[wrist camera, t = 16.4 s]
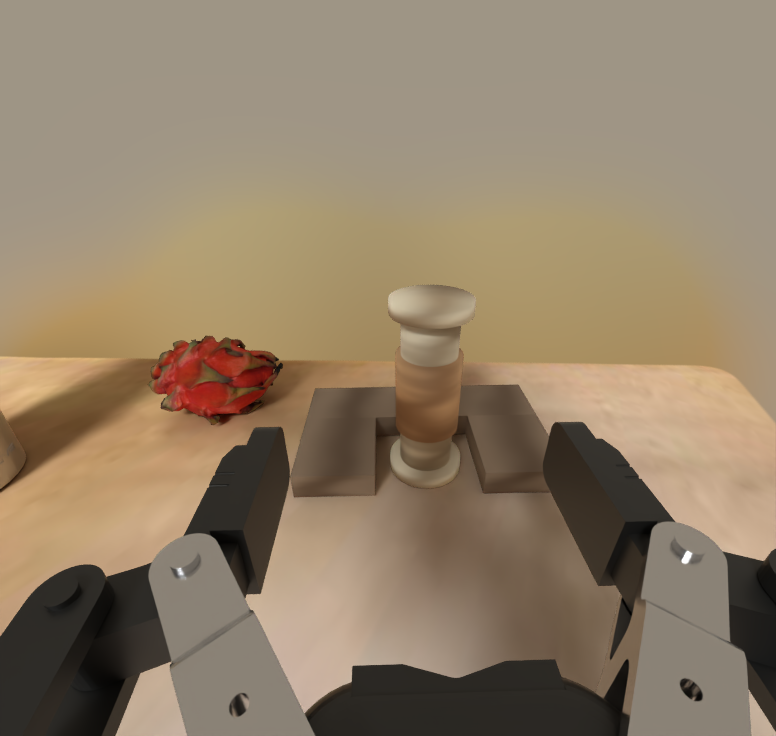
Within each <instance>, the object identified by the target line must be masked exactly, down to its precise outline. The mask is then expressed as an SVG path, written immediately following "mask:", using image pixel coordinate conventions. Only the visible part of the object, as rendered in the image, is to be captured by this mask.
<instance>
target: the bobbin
mask: <svg viewBox="0 0 776 736" xmlns="http://www.w3.org/2000/svg"><path fill="white" fill-rule="evenodd" d="M475 305H476V298H475V297H474V295H473V294H471V293H470V292H468V291H465V290H463V289H459V288H455V287H450V286H443V285H417V286H410V287H405V288H401V289H398V290H396V291H394V292H392V293H391V294H390V295H389V297H388V313H389V316H390V317H391V318H392V319H393V320H394V321H396V322H398V323H400V324H401V346H399V347H398V348H397V350H396V353H395V361H396V427H397V429H398V431H399V432H400V438H399V439H398V440H397V441H396V442H395V443H394V444H393V446H392V448H391V451H390V464H391V469H392V471H393V473H394V474H395V476H396V477H397V478H398V479H399V480H401V481H402V482H404V483H406V484H408V485H410V486H413V487H417V488H425V489H430V488H437V487H441V486H444V485H446V484H448V483H450V482H451V481H452V480H453V479H454V478H455V477H456V476H457V474H458V472H459V467H460V452H459V449H458V447H457V446H456V445H455V444H454V443H453V442H452V441H451V440H452V435H454V433H455V432H456V430H457V425H458V414H459V403H460V391H461V380H462V369H463V358H464V357H463V356H464V354H463V351H462V350H461V349H460V348H459V343H460V342H459V341H460V331H461V325H464V324H466V323H468V322H470V321H471V320H472V319H473V318H474V315H475Z"/></svg>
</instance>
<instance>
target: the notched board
mask: <svg viewBox="0 0 776 736" xmlns="http://www.w3.org/2000/svg"><path fill="white" fill-rule="evenodd" d="M454 434H466V437H467V441H468V444H469V447H470V451H471V454H472V457H473V461H474V464H475V467H476V471H477V474H478V477H479V481H480V484H481V488H482V491H483V493H513V492H550V490H549V488H548V486H547V484H546V482H545V479H544V474H543V460H544V456H545V452H546V448H547V444H548V440H549V436H548V434H547V432H546V431H545V429H544V427H543V425H542V424H541V422H540V420H539V419H538V417H537V415H536V414H535V412H534V410H533V409H532V407H531V405H530V403H529V402H528V400H527V398H526V397H525V395H524V393H523V392H522V390H521V388H520V387H519V385H478V386H461V391H460V403H459V414H458V425H457V430H456V432H455V433H454ZM384 435H400V432H399V431H398V429H397V427H396V387H371V388H317V389H315V391H314V395H313V398H312V402H311V405H310V409H309V412H308V416H307V420H306V423H305V427H304V430H303V434H302V437H301V441H300V444H299V448H298V452H297V455H296V459H295V462H294V466H293V469H292V473H291V476H290V477H291V483H292V489H293V494H294V497H318V496H367V495H375V479H376V436H384Z"/></svg>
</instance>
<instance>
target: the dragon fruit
mask: <svg viewBox="0 0 776 736" xmlns="http://www.w3.org/2000/svg"><path fill="white" fill-rule="evenodd" d="M191 341H192V342H191V343H190V344H188V343H187V342H185V341H177V342H175V343H173V346H174V351H172V350H169V351H167V352H164V353H162V354H161V355H160V358H159V363H157V364H156V365H155V366H154V367H151V376H152V378H153V379H154V380H153V381H151V382H150V383H149V386H150V387H151V389H152V391H153V392H154V393H157V394H167V395H168V396H167V397H166V398H164V400H163V401H162V403H161V409H164V410H167V411H172V412H173V411H180V410H181V409H183V408H185V409H187V410H189V411H191V412H193V413H195V414H197V415H198V416H204V417H205V418H206V419H207V420H208V421H209V422H210V423H211V425H215V424H217V423H218V421H219V419H220V417H218V416H216V415H217V414H228V413H239V414H241V413H246V414H248V413H250V412H251V411H253V410H255V409H257V408H258V407H259V406H260V405H262V404H263V403H264V402H265V401H264V400H262V401H259V402H254V401H255V400H256V399H258V398H260V397H261V396H263V395H264V393H265V392H266V390H267V388H268V387H269V386H270V385H273V381H274V379H275V378H276V377H277V376H278V374H279V371H280V369H282V367H283V364H282V363H280V364H279V365H278V366H276V361H278V360H279V359H278V358H276V357H275V356H274V355H273V354H272V353H270V352H266V351H248V350H245V345H244V344H243V343H242V341H241V340H236V339H235V340H231V339H229V338H224V339H223V340H222V341H220V342H219V343H218V342H216V340H215V338H214V337H213V336H205V337H204V339H202V341H196V340H191ZM237 346H240V347H237ZM275 368H276V369H275ZM273 369H275V371H274V374H273ZM252 402H253V403H252ZM250 403H251V404H250Z"/></svg>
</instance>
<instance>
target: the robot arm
mask: <svg viewBox="0 0 776 736" xmlns="http://www.w3.org/2000/svg"><path fill="white" fill-rule="evenodd" d="M25 460H26V454H25V451H24V449H23V448H22V446H21V444H20V442H19V441H18V439H17V437H16V436H15V434H14V432H13V431H12V429H11V427H10V425H9V424H8V422H7V420H6V419H5V417H4V415H3V413H2V411H1V410H0V489H1V488H2V487H3V486H5V485H6V484H7V483H8V482H10V481H11V480H12V479H13V478H14V477H15V476H16V475H17V474H18V473H19V471H20V470H21V468H22V467H23V465H24V463H25ZM629 465H630V464H629V463H628V462H627V461H626V459H625V458H624V457H623V456H622V454H621V453H620V452H619V451H618V450H617V449H616V448H614V447H613V446H611V445H610V444H608V443H607V442H606V441H604V440H603V439H596V438H595V437H594V435H593V434H592V433H591V431H590V430H589V429H588V428H587V426H586V425H585V424H584V423H583V422H556V423H554V424H553V426H552V428H551V432H550V436H549V440H548V444H547V448H546V452H545V456H544V460H543V474H544V479H545V482H546V484H547V486H548V488H549V490H550V492H551V494H552V496H553V498H554V500H555V502H556V504H557V506H558V507H559V509H560V511H561V513H562V515H563V517H564V519H565V521H566V523H567V525H568V527H569V529H570V531H571V533H572V535H573V537H574V539H575V541H576V543H577V545H578V547H579V549H580V551H581V553H582V555H583V557H584V559H585V561H586V563H587V565H588V567H589V569H590V571H591V573H592V575H593V577H594V579H595V581H596V583H597V585H598V586H612V585H616V586H617V588H618V590H619V592H620V594H621V595H620V597H619V600H618V602H617V607H616V612H615V616H614V621H613V626H612V631H611V635H610V640H609V645H608V650H607V654H606V659H605V664H604V668H603V672H602V675H601V678H600V681H599V684H598V686H597V689H596V692H593V691H591V690H590V689H588V688H586V687H584V686H582V685H580V684H578V683H576V682H573V681H571V680H568V679H566V678H562V677H561V675H560V672H559V669H558V667H557V664H556V661H555V660H524V661H505V662H502V663H499V664H496V665H494V666H491V667H488V668H485V669H483V670H480V671H477V672H475V673H472V674H469V675H466V676H464V677H460V678H451V677H447V676H444V675H440V674H436V673H433V672H429V671H425V670H422V669H418V668H414V667H411V666H407V665H403V664H397V665H366V666H353V667H352V682H351V683H348V684H346V685H343V686H341V687H339V688H337V689H335V690H333V691H331V692H330V693H328V694H327V695H325V696H324V697H323V698H321V699H320V700H318V701H317V702H316V703H315V704H314V705H313V706H312V707H311V708H309V709H308V710H307V711H306V712H305V714H304V712H303V710H302V708H301V706H300V704H299V702H298V700H297V698H296V696H295V694H294V692H293V689H292V687H291V685H290V683H289V681H288V679H287V677H286V675H285V673H284V671H283V669H282V667H281V665H280V663H279V661H278V659H277V657H276V655H275V653H274V651H273V649H272V647H271V645H270V643H269V641H268V638H267V636H266V634H265V632H264V630H263V628H262V626H261V624H260V622H259V620H258V618H257V616H256V615H255V613H254V611H253V610H250V608H249V606H248V604H247V602H246V600H245V598H246V595H247V594H261V590H262V587H263V583H264V579H265V575H266V571H267V567H268V564H269V560H270V556H271V552H272V548H273V544H274V540H275V537H276V533H277V529H278V525H279V521H280V517H281V514H282V510H283V506H284V502H285V498H286V494H287V491H288V486H289V478H290V469H289V462H288V456H287V450H286V444H285V438H284V433H283V429H282V428H281V427H258V428H254V430H253V432H252V434H251V436H250V438H249V441H248V443H247V445H238V446H235V447H234V448H233V449H232V450H231V451H230V452H228V453H227V454H226V455H225V456H224V457H223V458H222V460H221V462H220V464H219V466H218V468H217V470H216V472H215V475H214V476H213V478H212V480H211V482H210V484H209V488H207V490H206V492H205V494H204V496H203V498H202V500H201V502H200V504H199V506H198V508H197V510H196V512H195V514H194V516H193V518H192V520H191V522H190V524H189V526H188V528H187V530H186V532H185V534H184V536H183V537H180V538H178V539H176V540H174V541H173V542H171V543H170V544H168V545H167V546H165V547H164V548H163V549H162V550H161V551H160V552H159V553H158V554H157V556H156V557H155V558H154V560H153V562H152V563H149V564H147V565H144V566H141V567H138V568H134V569H131V570H128V571H125V572H121V573H118V574H115V575H111V576H108V577H106V576H105V574H104V572H103V571H102V569H100V568H99V567H97V566H95V565H78V566H74V567H71V568H68V569H66V570H63V571H61V572H59V573H57V574H56V575H54V576H52V577H51V578H49V579H48V580H46V581H45V582H44V583H42V584H41V585H40V586H39V587H38V588H37V589H36V590H35V591H34V592H33V593H32V594H31V595H30V596H29V597H28V599H27V600H26V601H25V603H24V604H23V606H22V607H21V608H20V610H19V611H18V613H17V614H16V615H15V617H14V618H13V620H12V621H11V622H10V624H9V625H8V627H7V628H6V629H5V631H4V632H3V634H2V635H1V636H0V736H115V735H116V733H117V730H118V728H119V725H120V723H121V720H122V718H123V715H124V713H125V710H126V708H127V705H128V703H129V700H130V698H131V695H132V693H133V690H134V688H135V685H136V683H137V680H138V678H139V675H140V673H142V672H144V671H147V670H150V669H152V668H155V667H158V666H160V665H163V664H166V663H168V662H171V661H172V664H170V672H171V677H172V681H173V685H174V688H175V692H176V696H177V700H178V703H179V707H180V711H181V714H182V718H183V722H184V725H185V729H186V733H187V736H751V723H750V707H749V691H748V689H749V690H750V692H751V694H752V695H753V697H754V698H755V700H756V701H757V703H758V705H759V706H760V708H761V709H762V711H763V712H764V714H765V716H766V717H767V719H768V720H769V722H770V723H771V725H772V727H773V728H774V730H775V731H776V549H774V550H773V551H771V553H770V554H769V555H768V557H767V558H766V559H765V561H760V560H756V559H752V558H748V557H743V556H739V555H735V554H731V553H727V552H723V551H722V550H721V549H720V548H719V547H718V545H717V544H716V543H715V542H714V541H712V540H711V539H710V538H709V537H708V536H706V535H705V534H703V533H702V532H700V531H698V530H696V529H694V528H692V527H690V526H687V525H685V524H681V523H677V522H675V521H674V520H673V518H672V517H671V516H670V515H669V513H668V512H667V511H666V510H665V508H664V507H663V506H662V504H661V503H660V502H659V501H658V499H657V498H656V497H655V496H654V494H653V493H652V492H651V491H650V489H649V488H648V487H647V486H646V484H645V483H644V482H643V481H642V479H639V476H638V474H637V473H636V472H635V471H634V469H633V468H632V467H630V466H629Z"/></svg>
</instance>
